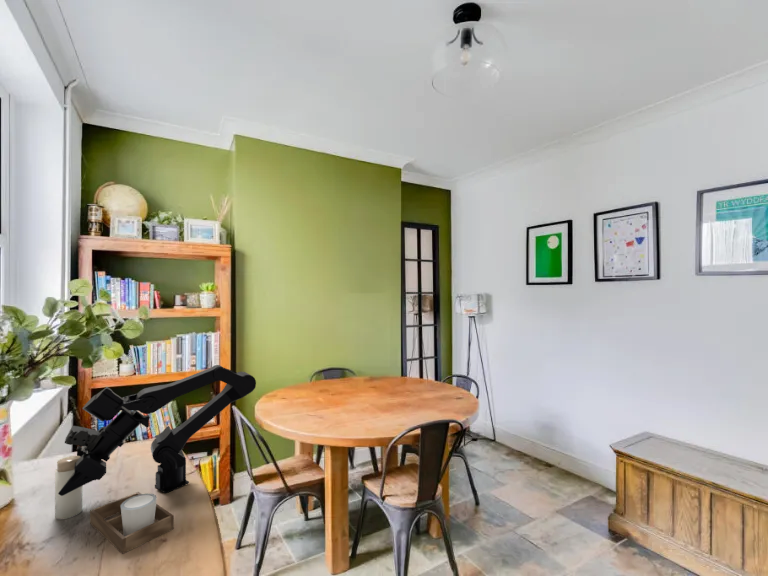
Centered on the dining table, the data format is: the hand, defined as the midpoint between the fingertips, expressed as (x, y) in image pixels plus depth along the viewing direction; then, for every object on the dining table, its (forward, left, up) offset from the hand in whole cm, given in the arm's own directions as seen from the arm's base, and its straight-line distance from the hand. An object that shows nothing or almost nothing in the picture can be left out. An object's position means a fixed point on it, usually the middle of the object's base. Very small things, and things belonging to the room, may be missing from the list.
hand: (61, 487), depth 92 cm
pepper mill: (-1, 0, -7) cm, 7 cm away
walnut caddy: (-8, +19, -7) cm, 22 cm away
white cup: (-8, +23, -7) cm, 25 cm away
